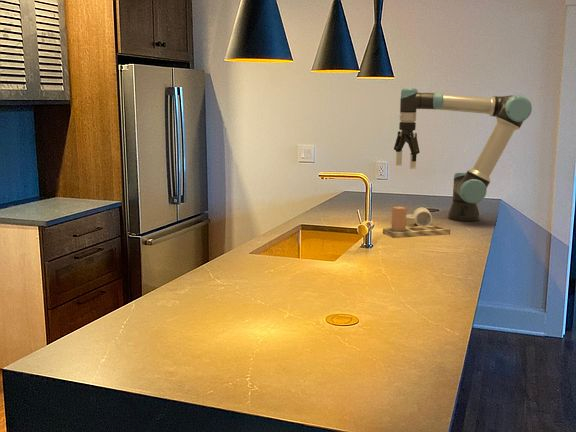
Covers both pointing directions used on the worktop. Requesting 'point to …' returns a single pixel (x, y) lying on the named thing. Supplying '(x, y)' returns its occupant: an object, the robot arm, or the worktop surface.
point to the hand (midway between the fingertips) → (405, 166)
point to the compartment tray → (417, 231)
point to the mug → (421, 217)
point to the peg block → (399, 218)
